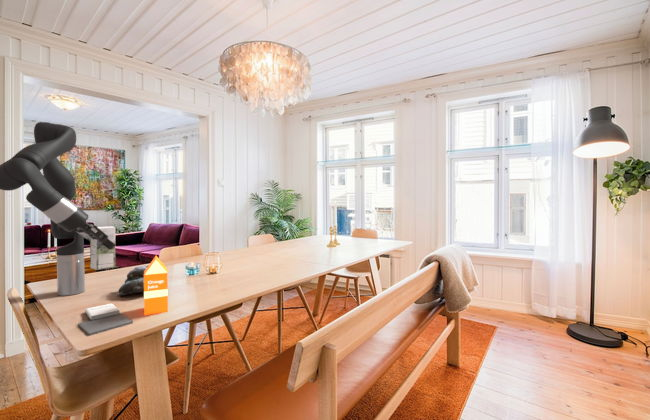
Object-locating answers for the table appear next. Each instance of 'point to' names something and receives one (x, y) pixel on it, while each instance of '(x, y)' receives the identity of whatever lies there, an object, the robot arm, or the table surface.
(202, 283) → the table surface
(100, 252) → the syrup box
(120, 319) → the charcoal mat
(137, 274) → the lucky cat figurine
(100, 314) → the external hard drive
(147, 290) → the orange juice
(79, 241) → the robot arm
